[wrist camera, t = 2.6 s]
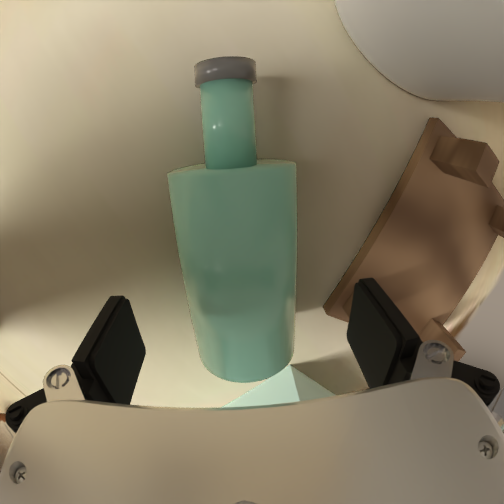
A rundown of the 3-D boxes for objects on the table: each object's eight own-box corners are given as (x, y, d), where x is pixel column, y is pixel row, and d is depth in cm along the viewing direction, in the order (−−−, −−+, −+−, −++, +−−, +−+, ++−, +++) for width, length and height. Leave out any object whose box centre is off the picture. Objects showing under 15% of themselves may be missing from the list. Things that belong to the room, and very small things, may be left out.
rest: (419, 342, 23) (447, 378, 18) (322, 307, 20) (348, 358, 15) (502, 206, 18) (542, 225, 13) (429, 117, 15) (485, 122, 10)
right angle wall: (198, 415, 25) (196, 477, 18) (288, 359, 23) (308, 432, 16) (272, 446, 29) (280, 495, 23) (352, 402, 27) (373, 455, 20)
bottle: (266, 310, 21) (312, 358, 16) (189, 333, 19) (218, 396, 14) (255, 78, 14) (317, 55, 9) (152, 81, 12) (171, 44, 7)
